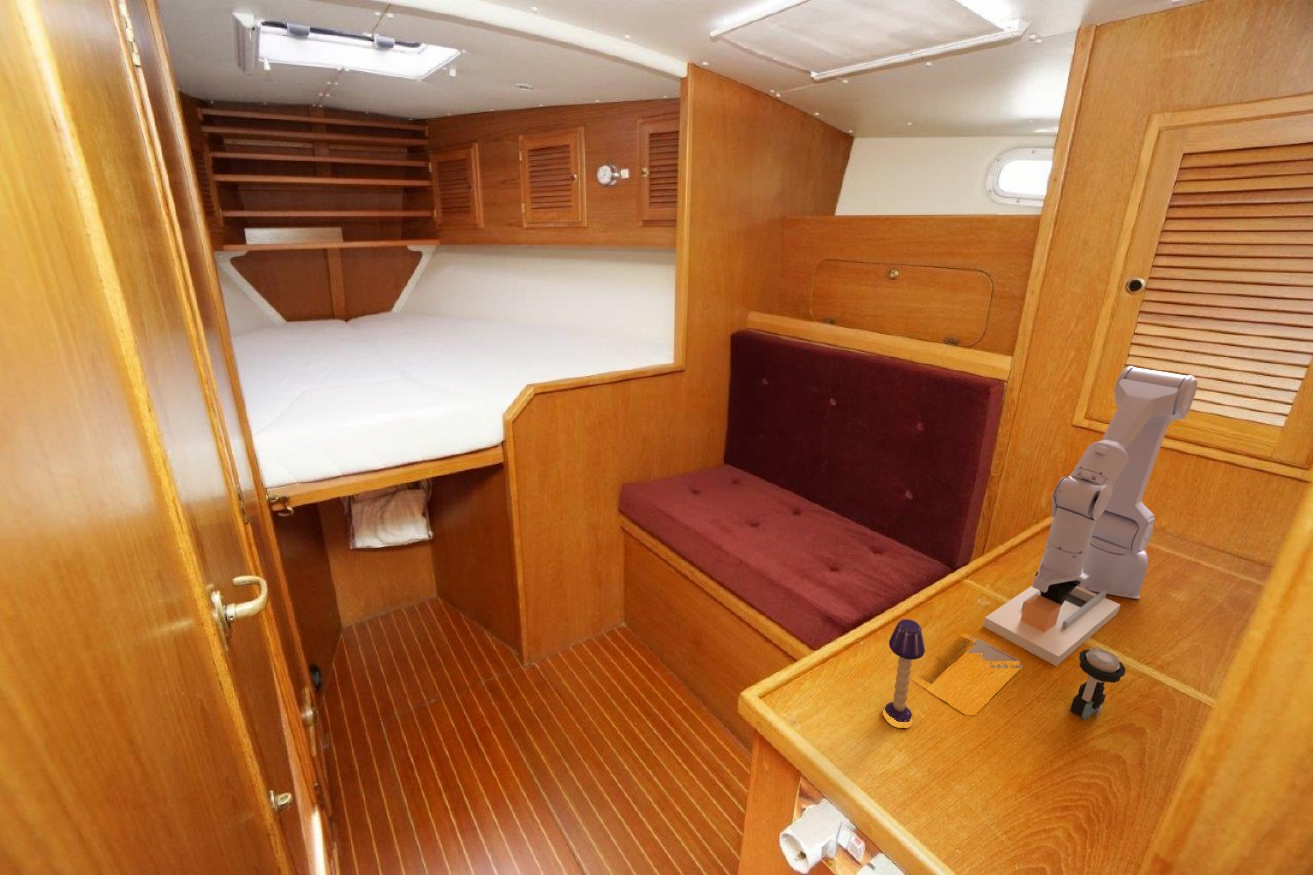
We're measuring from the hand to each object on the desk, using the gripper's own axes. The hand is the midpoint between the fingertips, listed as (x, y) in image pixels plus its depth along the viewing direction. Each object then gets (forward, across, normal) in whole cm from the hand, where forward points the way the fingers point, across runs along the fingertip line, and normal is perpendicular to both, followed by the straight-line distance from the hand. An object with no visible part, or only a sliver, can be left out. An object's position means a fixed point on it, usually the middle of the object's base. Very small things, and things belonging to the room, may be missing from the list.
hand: (1049, 610), depth 102 cm
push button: (+3, -15, -13) cm, 20 cm away
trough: (+3, +2, 0) cm, 4 cm away
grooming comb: (+4, -23, +1) cm, 23 cm away
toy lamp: (+3, -40, +2) cm, 41 cm away
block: (+1, -3, 0) cm, 4 cm away
